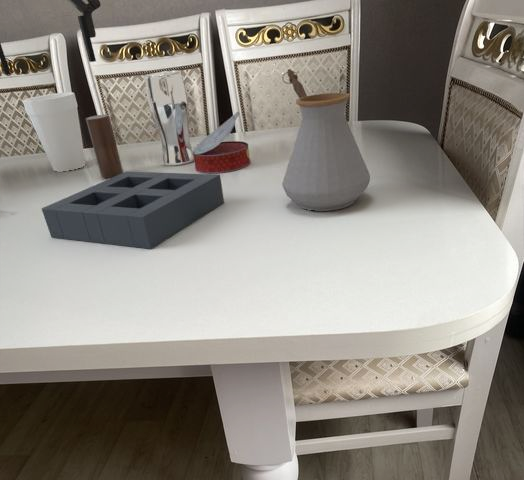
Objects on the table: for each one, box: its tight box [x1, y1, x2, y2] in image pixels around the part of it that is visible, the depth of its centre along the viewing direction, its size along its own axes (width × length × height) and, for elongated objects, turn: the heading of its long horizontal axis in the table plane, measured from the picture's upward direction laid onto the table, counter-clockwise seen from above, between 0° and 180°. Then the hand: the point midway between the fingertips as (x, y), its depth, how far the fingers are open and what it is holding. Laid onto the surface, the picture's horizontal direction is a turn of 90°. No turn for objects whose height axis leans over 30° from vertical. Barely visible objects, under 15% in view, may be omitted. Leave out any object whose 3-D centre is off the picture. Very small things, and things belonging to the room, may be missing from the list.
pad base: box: [41, 171, 225, 250], centre depth 72 cm, size 17×17×4 cm
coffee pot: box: [281, 68, 371, 212], centre depth 71 cm, size 21×12×15 cm, turn 12°
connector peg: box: [85, 114, 124, 180], centre depth 93 cm, size 4×4×10 cm
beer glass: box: [143, 69, 194, 167], centre depth 96 cm, size 7×7×15 cm
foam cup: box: [22, 91, 86, 173], centre depth 102 cm, size 10×9×13 cm
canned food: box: [192, 111, 251, 174], centre depth 92 cm, size 11×10×10 cm
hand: (51, 68), depth 86 cm, fingers open, 13 cm apart
